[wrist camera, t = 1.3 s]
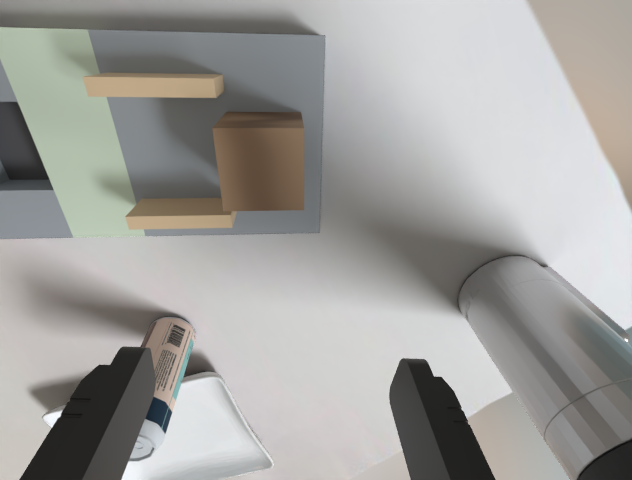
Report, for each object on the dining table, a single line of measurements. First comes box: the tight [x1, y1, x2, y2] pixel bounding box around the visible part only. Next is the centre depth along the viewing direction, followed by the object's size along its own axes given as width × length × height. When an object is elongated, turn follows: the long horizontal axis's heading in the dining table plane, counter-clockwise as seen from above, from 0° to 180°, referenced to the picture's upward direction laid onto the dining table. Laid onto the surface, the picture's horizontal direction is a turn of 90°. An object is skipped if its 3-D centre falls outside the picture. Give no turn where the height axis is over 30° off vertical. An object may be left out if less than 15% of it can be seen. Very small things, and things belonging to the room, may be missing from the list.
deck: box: [0, 27, 325, 239], centre depth 23 cm, size 25×14×6 cm, turn 89°
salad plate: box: [42, 372, 274, 480], centre depth 43 cm, size 21×21×3 cm
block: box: [212, 112, 304, 211], centre depth 22 cm, size 5×5×5 cm
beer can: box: [128, 317, 196, 462], centre depth 30 cm, size 5×5×12 cm
